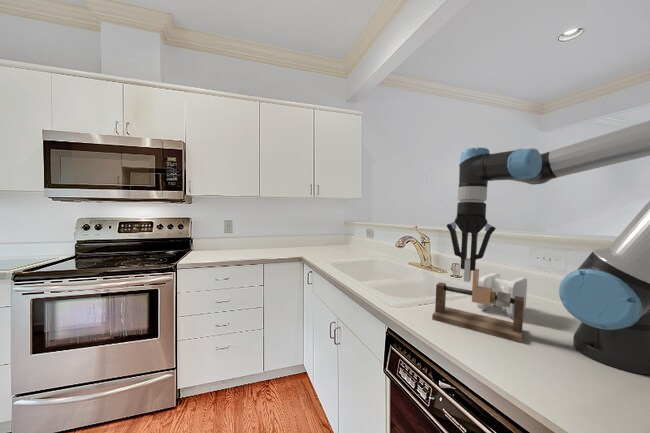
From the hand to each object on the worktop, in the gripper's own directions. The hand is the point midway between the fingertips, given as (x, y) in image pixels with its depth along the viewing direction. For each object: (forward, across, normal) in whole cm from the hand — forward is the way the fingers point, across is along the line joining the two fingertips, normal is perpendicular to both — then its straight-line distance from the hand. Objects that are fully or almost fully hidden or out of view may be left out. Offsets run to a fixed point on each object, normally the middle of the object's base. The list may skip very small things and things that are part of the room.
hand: (467, 280), depth 81 cm
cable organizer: (+13, -8, -19) cm, 24 cm away
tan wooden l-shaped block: (+5, -4, 0) cm, 7 cm away
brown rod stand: (+13, -3, 0) cm, 13 cm away
